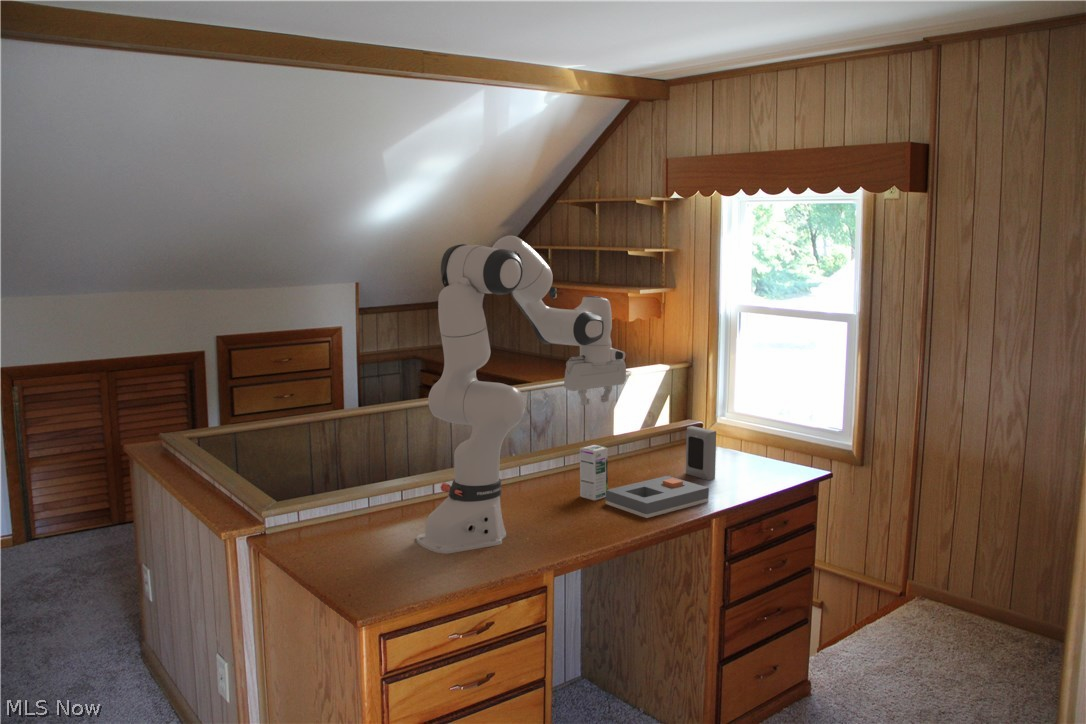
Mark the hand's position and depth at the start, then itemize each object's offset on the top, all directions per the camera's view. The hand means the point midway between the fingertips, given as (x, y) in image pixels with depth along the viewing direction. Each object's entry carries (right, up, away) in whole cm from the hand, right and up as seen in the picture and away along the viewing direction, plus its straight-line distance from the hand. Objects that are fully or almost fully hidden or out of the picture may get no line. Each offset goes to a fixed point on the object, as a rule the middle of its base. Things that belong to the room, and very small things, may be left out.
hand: (595, 403), depth 255 cm
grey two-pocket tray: (+17, -28, -2) cm, 32 cm away
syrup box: (0, -27, +4) cm, 27 cm away
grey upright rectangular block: (+33, -24, +25) cm, 48 cm away
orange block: (+22, -24, +1) cm, 33 cm away
